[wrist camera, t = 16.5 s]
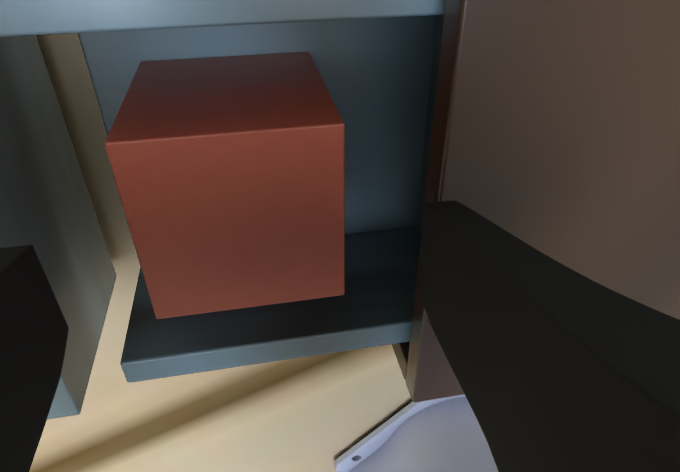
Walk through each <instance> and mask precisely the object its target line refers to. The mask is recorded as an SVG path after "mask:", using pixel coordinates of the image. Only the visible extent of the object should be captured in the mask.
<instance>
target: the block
mask: <svg viewBox="0 0 680 472" xmlns="http://www.w3.org/2000/svg"><path fill="white" fill-rule="evenodd" d="M105 148H106V151H107V154H108V158H109V161H110V165H111V168H112V171H113V175H114V178H115V181H116V185H117V188H118V192H119V195H120V198H121V202H122V205H123V208H124V212H125V215H126V219H127V222H128V225H129V229H130V232H131V235H132V239H133V242H134V245H135V249H136V252H137V256H138V259H139V262H140V266H141V269H142V272H143V276H144V279H145V283H146V286H147V289H148V293H149V296H150V299H151V303H152V306H153V310H154V313H155V316H156V318H157V319H163V318H171V317H179V316H186V315H194V314H202V313H209V312H217V311H224V310H232V309H240V308H247V307H255V306H263V305H270V304H278V303H286V302H293V301H301V300H309V299H316V298H324V297H332V296H339V295H344V293H345V124H344V122H343V120H342V118H341V116H340V114H339V112H338V110H337V108H336V106H335V104H334V102H333V100H332V98H331V96H330V94H329V92H328V90H327V87H326V85H325V83H324V81H323V79H322V77H321V75H320V73H319V71H318V69H317V67H316V65H315V63H314V61H313V59H312V57H311V55H310V53H309V52H294V53H277V54H260V55H243V56H226V57H209V58H192V59H174V60H157V61H141V62H140V64H139V66H138V68H137V71H136V73H135V75H134V77H133V80H132V82H131V84H130V86H129V89H128V91H127V93H126V95H125V98H124V100H123V102H122V104H121V107H120V109H119V111H118V114H117V116H116V118H115V120H114V123H113V125H112V127H111V129H110V132H109V134H108V136H107V138H106V141H105Z"/></svg>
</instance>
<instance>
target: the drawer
mask: <svg viewBox="0 0 680 472" xmlns="http://www.w3.org/2000/svg"><path fill="white" fill-rule="evenodd" d="M445 6H446V0H0V248H5V247H15V246H24V245H33V247H34V249H35V252H36V254H37V256H38V258H39V261H40V263H41V265H42V268H43V270H44V272H45V274H46V277H47V279H48V281H49V284H50V286H51V288H52V290H53V293H54V295H55V297H56V300H57V302H58V304H59V306H60V309H61V311H62V313H63V315H64V318H65V320H66V322H67V325H68V327H69V331H68V338H67V344H66V350H65V356H64V361H63V366H62V371H61V376H60V380H59V383H58V387H57V390H56V393H55V396H54V399H53V402H52V405H51V408H50V411H49V414H48V417H47V419H53V418H60V417H66V416H73V415H78V414H80V412H81V408H82V404H83V400H84V396H85V393H86V389H87V385H88V381H89V378H90V374H91V370H92V366H93V363H94V359H95V355H96V351H97V347H98V344H99V340H100V336H101V332H102V329H103V325H104V321H105V317H106V314H107V310H108V306H109V302H110V299H111V295H112V291H113V287H114V283H115V280H116V273H115V270H114V267H113V264H112V261H111V258H110V255H109V252H108V249H107V246H106V243H105V240H104V237H103V234H102V231H101V228H100V225H99V222H98V219H97V216H96V213H95V210H94V207H93V204H92V201H91V198H90V196H89V193H88V190H87V187H86V184H85V181H84V178H83V175H82V172H81V169H80V166H79V163H78V160H77V157H76V154H75V151H74V148H73V145H72V142H71V139H70V136H69V133H68V130H67V127H66V124H65V121H64V118H63V115H62V112H61V109H60V106H59V103H58V100H57V97H56V94H55V92H54V89H53V86H52V83H51V80H50V77H49V74H48V71H47V68H46V65H45V62H44V59H43V56H42V53H41V50H40V47H39V44H38V41H37V38H36V35H45V34H65V33H78V36H79V39H80V43H81V46H82V50H83V53H84V57H85V60H86V64H87V67H88V70H89V74H90V77H91V81H92V84H93V88H94V91H95V95H96V98H97V101H98V105H99V108H100V112H101V115H102V119H103V122H104V126H105V129H106V132H107V136H108V134H109V132H110V129H111V127H112V125H113V123H114V120H115V118H116V116H117V114H118V111H119V109H120V107H121V104H122V102H123V100H124V98H125V95H126V93H127V91H128V89H129V86H130V84H131V82H132V80H133V77H134V75H135V73H136V71H137V68H138V66H139V64H140V62H141V61H157V60H174V59H192V58H209V57H226V56H243V55H260V54H277V53H294V52H309V53H310V55H311V57H312V59H313V61H314V63H315V65H316V67H317V69H318V71H319V73H320V75H321V77H322V79H323V81H324V83H325V85H326V87H327V90H328V92H329V94H330V96H331V98H332V100H333V102H334V104H335V106H336V108H337V110H338V112H339V114H340V116H341V118H342V120H343V122H344V124H345V293H344V295H339V296H332V297H324V298H316V299H309V300H301V301H293V302H286V303H278V304H270V305H263V306H255V307H247V308H240V309H232V310H224V311H217V312H209V313H202V314H194V315H186V316H179V317H171V318H163V319H157V318H156V316H155V313H154V310H153V306H152V303H151V299H150V296H149V293H148V289H147V286H146V283H145V279H144V276H143V272H142V269H141V268H140V272H139V277H138V282H137V287H136V292H135V296H134V301H133V306H132V311H131V315H130V320H129V325H128V330H127V334H126V339H125V344H124V349H123V353H122V358H121V363H120V364H121V366H122V369H123V372H124V374H125V377H126V380H127V382H137V381H144V380H151V379H157V378H164V377H171V376H178V375H185V374H191V373H198V372H205V371H212V370H219V369H225V368H232V367H239V366H246V365H253V364H259V363H266V362H273V361H280V360H286V359H293V358H300V357H307V356H314V355H320V354H327V353H334V352H341V351H348V350H354V349H361V348H368V347H375V346H382V345H388V344H395V343H402V342H409V341H410V336H411V327H412V317H413V308H414V298H415V289H416V280H417V270H418V261H419V251H420V242H421V232H422V223H423V214H424V204H425V195H426V185H427V176H428V167H429V157H430V148H431V138H432V129H433V119H434V110H435V101H436V91H437V82H438V72H439V63H440V54H441V44H442V35H443V25H444V16H445Z"/></svg>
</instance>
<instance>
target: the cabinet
mask: <svg viewBox="0 0 680 472" xmlns="http://www.w3.org/2000/svg"><path fill="white" fill-rule="evenodd" d="M451 200H455V201H457V202H459V203H461V204H463V205H465V206H467V207H468V208H470V209H472V210H473V211H475V212H477V213H478V214H480V215H481V216H483V217H485V218H486V219H488V220H490V221H491V222H493V223H494V224H496V225H498V226H499V227H501V228H502V229H504V230H506V231H507V232H509V233H510V234H512V235H514V236H515V237H517V238H518V239H520V240H522V241H523V242H525V243H527V244H528V245H530V246H532V247H533V248H535V249H537V250H538V251H540V252H542V253H544V254H545V255H547V256H549V257H551V258H552V259H554V260H556V261H558V262H559V263H561V264H563V265H565V266H567V267H568V268H570V269H572V270H574V271H576V272H578V273H580V274H582V275H583V276H585V277H587V278H589V279H591V280H593V281H595V282H597V283H599V284H601V285H603V286H605V287H607V288H609V289H611V290H613V291H615V292H617V293H619V294H622V295H624V296H626V297H628V298H630V299H633V300H635V301H637V302H639V303H642V304H644V305H646V306H648V307H650V308H653V309H655V310H657V311H660V312H662V313H664V314H667V315H669V316H672V317H674V318H677V319H679V320H680V0H446V6H445V16H444V25H443V35H442V44H441V54H440V63H439V72H438V82H437V91H436V101H435V110H434V119H433V129H432V138H431V148H430V157H429V167H428V176H427V185H426V195H425V203H432V202H442V201H451ZM424 209H425V204H424ZM423 218H424V214H423ZM422 228H423V223H422ZM421 237H422V232H421ZM420 247H421V242H420ZM419 256H420V251H419ZM418 266H419V261H418ZM417 275H418V270H417ZM392 346H393V349H394V352H395V354H396V357H397V360H398V363H399V365H400V368H401V371H402V374H403V377H404V379H405V380H406V385H407V387H408V390H409V393H410V396H411V398H412V401H413V402H415V403H416V402H422V401H428V400H434V399H440V398H446V397H452V396H458V395H464V392H463V390H462V388H461V386H460V384H459V382H458V380H457V378H456V376H455V374H454V372H453V370H452V368H451V366H450V364H449V362H448V360H447V358H446V356H445V354H444V352H443V350H442V348H441V346H440V344H439V342H438V340H437V338H436V336H435V333H434V331H433V329H432V327H431V325H430V322H429V319H428V316H427V313H426V311H425V308H424V305H423V302H422V298H421V295H420V292H419V289H418V286H417V280H416V289H415V298H414V308H413V317H412V327H411V336H410V341H409V342H402V343H395V344H392Z"/></svg>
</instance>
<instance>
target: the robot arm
mask: <svg viewBox="0 0 680 472" xmlns="http://www.w3.org/2000/svg"><path fill="white" fill-rule="evenodd" d="M417 286H418V289H419V292H420V295H421V298H422V302H423V305H424V308H425V311H426V313H427V316H428V319H429V322H430V325H431V327H432V329H433V331H434V333H435V336H436V338H437V340H438V342H439V344H440V346H441V348H442V350H443V352H444V354H445V356H446V358H447V360H448V362H449V364H450V366H451V368H452V370H453V372H454V374H455V376H456V378H457V380H458V382H459V384H460V386H461V388H462V390H463V392H464V395H458V396H452V397H446V398H440V399H434V400H428V401H422V402H416V403H415V402H413V401H412V402H411V403H410V404H408V405H407V406H406V407H404V408H403V409H402V410H401V411H399V412H398V413H397V414H395V415H394V416H393V417H391V418H390V419H389V420H387V421H386V422H385V423H383V424H382V425H381V426H379V427H378V428H377V429H375V430H374V431H373V432H372V433H370V434H369V435H368V436H366V437H365V438H364V439H362V440H361V441H360V442H358V443H357V444H356V445H354V446H353V447H352V448H350V449H349V450H348V451H346V452H345V453H344V454H342V455H341V456H340V457H339V458H337V459H336V460H335V461H334V466H335V470H336V471H338V472H680V320H679V319H677V318H674V317H672V316H669V315H667V314H664V313H662V312H660V311H657V310H655V309H653V308H650V307H648V306H646V305H644V304H642V303H639V302H637V301H635V300H633V299H630V298H628V297H626V296H624V295H622V294H619V293H617V292H615V291H613V290H611V289H609V288H607V287H605V286H603V285H601V284H599V283H597V282H595V281H593V280H591V279H589V278H587V277H585V276H583V275H582V274H580V273H578V272H576V271H574V270H572V269H570V268H568V267H567V266H565V265H563V264H561V263H559V262H558V261H556V260H554V259H552V258H551V257H549V256H547V255H545V254H544V253H542V252H540V251H538V250H537V249H535V248H533V247H532V246H530V245H528V244H527V243H525V242H523V241H522V240H520V239H518V238H517V237H515V236H514V235H512V234H510V233H509V232H507V231H506V230H504V229H502V228H501V227H499V226H498V225H496V224H494V223H493V222H491V221H490V220H488V219H486V218H485V217H483V216H481V215H480V214H478V213H477V212H475V211H473V210H472V209H470V208H468V207H467V206H465V205H463V204H461V203H459V202H457V201H455V200H451V201H442V202H432V203H425V209H424V218H423V228H422V237H421V247H420V256H419V266H418V275H417ZM68 331H69V327H68V325H67V322H66V320H65V318H64V315H63V313H62V311H61V309H60V306H59V304H58V302H57V300H56V297H55V295H54V293H53V290H52V288H51V286H50V284H49V281H48V279H47V277H46V274H45V272H44V270H43V268H42V265H41V263H40V261H39V258H38V256H37V254H36V252H35V249H34V247H33V245H24V246H15V247H5V248H0V472H29V470H30V467H31V464H32V461H33V458H34V455H35V452H36V449H37V446H38V443H39V441H40V438H41V435H42V432H43V429H44V426H45V423H46V420H47V417H48V414H49V411H50V408H51V405H52V402H53V399H54V396H55V393H56V390H57V387H58V383H59V380H60V376H61V371H62V366H63V361H64V356H65V350H66V344H67V338H68Z"/></svg>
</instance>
